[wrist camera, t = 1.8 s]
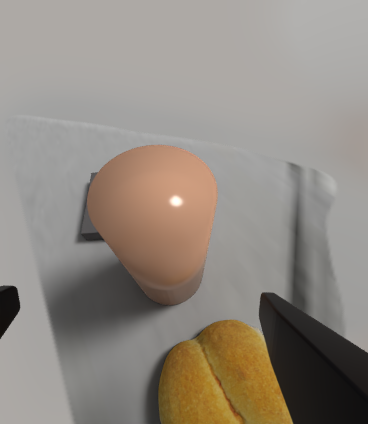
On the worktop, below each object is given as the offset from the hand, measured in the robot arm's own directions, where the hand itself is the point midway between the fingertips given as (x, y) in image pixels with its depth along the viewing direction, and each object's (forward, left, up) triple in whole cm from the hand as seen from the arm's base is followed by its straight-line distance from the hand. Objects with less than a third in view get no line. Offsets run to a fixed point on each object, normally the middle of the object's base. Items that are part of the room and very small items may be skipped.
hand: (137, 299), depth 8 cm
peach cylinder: (+5, -1, -12) cm, 13 cm away
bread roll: (-4, -4, -13) cm, 14 cm away
